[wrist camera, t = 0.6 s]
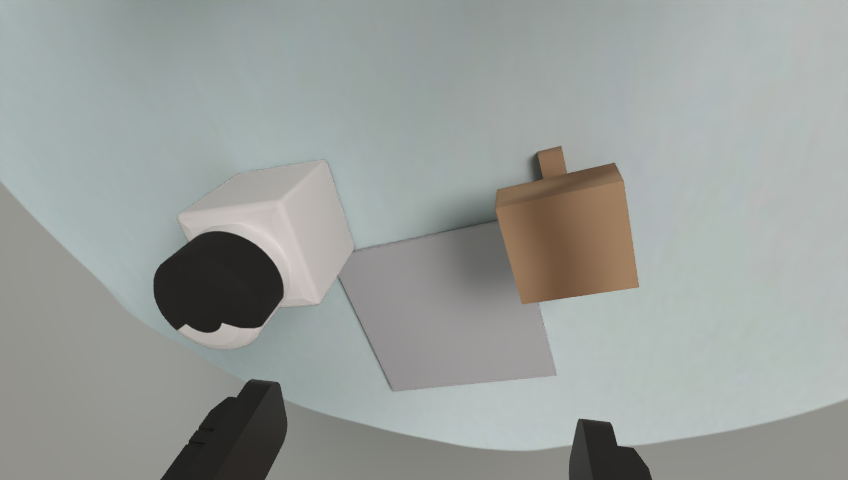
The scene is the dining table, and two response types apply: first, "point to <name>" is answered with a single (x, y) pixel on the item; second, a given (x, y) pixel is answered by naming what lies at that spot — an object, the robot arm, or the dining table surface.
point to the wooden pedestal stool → (567, 231)
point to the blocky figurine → (254, 253)
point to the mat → (446, 310)
